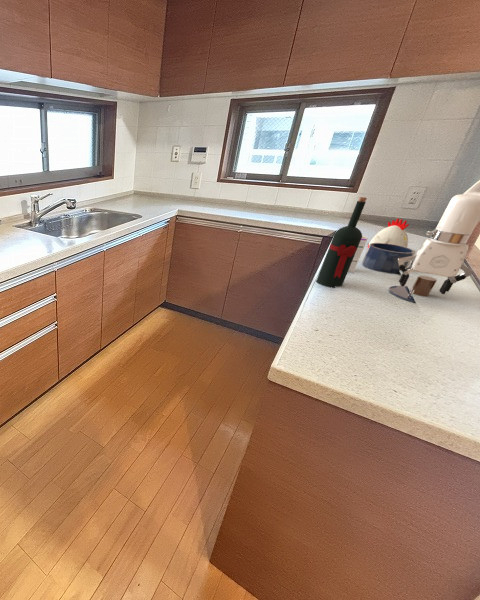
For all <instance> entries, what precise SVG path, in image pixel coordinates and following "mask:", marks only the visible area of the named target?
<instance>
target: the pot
mask: <svg viewBox="0 0 480 600" xmlns="http://www.w3.org/2000/svg"><path fill="white" fill-rule="evenodd" d="M368 245H369V244H368ZM415 255H416V251H415V249H412V248H409V247H407V248H406V247H403V246H398V245H393V244H386V243H372V244H370V245H369V248H367V250H366V252H365V255H364V257H363V260H362V262H361V266H362V267H364V268H367V269H369V270H371V271H372V270H373V271H376V272H381V273H385V274H392V275H402V272H400V271H401V269H400V268H399V265H398V259H399V258H404V257H410V256H415ZM411 262H412V261H408V262H404V266H405V268H407V267H409V266H410V265H411Z"/></svg>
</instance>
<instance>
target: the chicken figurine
mask: <svg viewBox="0 0 480 600" xmlns="http://www.w3.org/2000/svg"><path fill="white" fill-rule="evenodd" d="M403 220H404V219H402V218H401V219H400V218H396V220H395V219H393V220H392V221H388V222H387V227H385V228H382V229H381V230H380V231H379V232H377V233H376V234H375V235H374V236H373V237H372V239H371V240H370V241H369V243H368V244H367V247H368V248H369V245H370V244H372V243H386V244H393V245H398V246H403V247H406V248H409V247H408V246H409V237H408V233H407V231H406V228H408V227H409V226H410V224H409V223H407V222H408V220H404V221H403ZM368 248H367V249H368Z"/></svg>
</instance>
